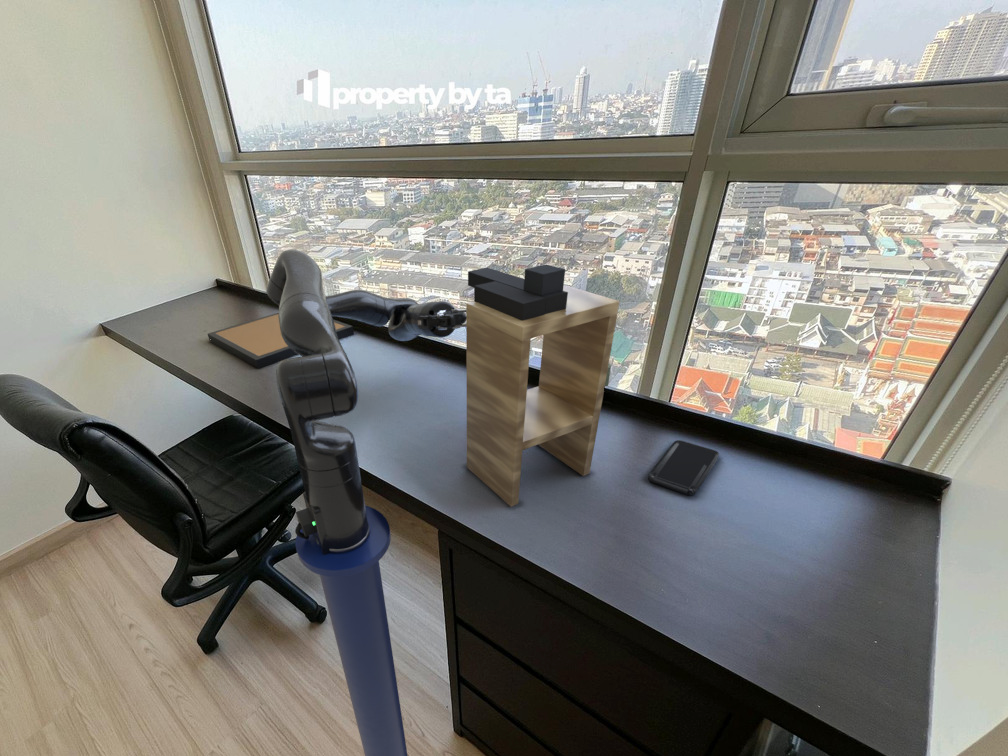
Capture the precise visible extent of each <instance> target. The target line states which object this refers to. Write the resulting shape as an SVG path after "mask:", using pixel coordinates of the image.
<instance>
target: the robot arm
mask: <svg viewBox="0 0 1008 756" xmlns="http://www.w3.org/2000/svg"><path fill="white" fill-rule="evenodd" d="M265 293H266V295H267V297H268V298H269V299H270V300H271V301H272V302H273V303H275V304H276V305H277V306H278V313H279V324H280V331H281V335H282V338H283V340H284V341H285V343H286V344H287V345H288V346H289V348H290V349H292V350H293V351H294V352H296V353H297V354H298V355H299V356H296V357H295V356H294V357H290V358H287V359H284V360H282V361H279V362H278V364H277V366H276V371H275V375H276V376H275V379H276V386H277V390H278V391H277V392H278V395H279V399H280V402H281V405H282V408H283V411H284V414H285V418H286V420H287V423H288V427H289V431H290V434H291V438H292V442H293V443H292V444H293V447H294V451H295V456H296V461H297V465H298V468H299V473H300V477H301V481H302V485H303V490H304V492H303V493H302V495H303V499H304V503H305V504H304V505H305V508H303V509H300V510H298V511H296V512H295V515H296V518H297V525H296V527H295V531H294V532H295V535H296V537H297V536H298V537H300V538H304V539H306V540H307V539H309V535H312V534H313V535H314V537H315V539H316V542H317V544H318V546H319V547H320V549H321V551H322V553H323V555H326V554H329V553H333V554H342V553H348V552H351V551H353V550H356V549H357V548H359V547H360V546H362V545H363V544H364V543H365V542H366V540H367V539H368V537H369V532H370V531H369V524H368V520H367V515H366V508H365V505H366V501H365V495H364V490H363V482H362V477H361V470H360V464H359V458H358V451H357V446H356V440H355V437H354V434H353V433H352V431H350V429H348V428H346V427H344V426H342V425H340V424H335V423H328V422H322V420H326V419H332V418H336V417H342V416H345V415H347V414H350V413H352V412H353V411H354V410H355V409H356V408H357V405H358V403H359V387H358V382H357V381H358V380H357V378H356V375H355V372H354V369H353V366H352V364H351V362H350V360H349V356H348V355H347V353H346V351H345V349H344V347H343V345H342V343H341V341H340V340H339V339H338V336H337V332H336V328H335V324H334V320H335V319H334V317H335V318H336V317H338V318H344V319H345V318H346V319H351V320H354V321H358V322H362V323H365V324H368V325H372V326H374V327H384V326H386V325H387V324H388V326H387V332H388V334H389V336H390V337H391V338H392V339H394V340H396V341H398V342H399V341H400V342H408V341H411V340H413V339H416V338H417V337H419V336H424V337H429V338H430V337H431V338H446V337H449V336H450V335H451V334H453V333H454V331H455V330H456V329H461V328H466V316H467V315H466V309H460V308H455V307H454V306H453V305H452V304H451V303H450V302H448V301H444V300H442V301H441V300H440V301H439V300H438V301H427V302H424V303H418V302H417V301H416V300H415V299H413V298H409V297H386V296H382V295H379V294H377V293H374V292H370V291H368V290H365V289H352V290H346V291H343V292H339V293H334V294H330V295H326V294H325V289H324V283H323V273H322V269H321V268H320V266H319V265H318V263H317V262H316V261H315V259H313V258H312V257H311V256H310V255H308V254H307V253H305V252H303V251H301V250H298V249H286V250H284V251H282V252H281V253H279V256H278V257H277V259H276V261H275V263H274V266H273V269H272V271H271V274H270V277H269V279H268V282H267V284H266V289H265ZM301 529H302V531H303V533H302V532H300V530H301Z"/></svg>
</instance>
